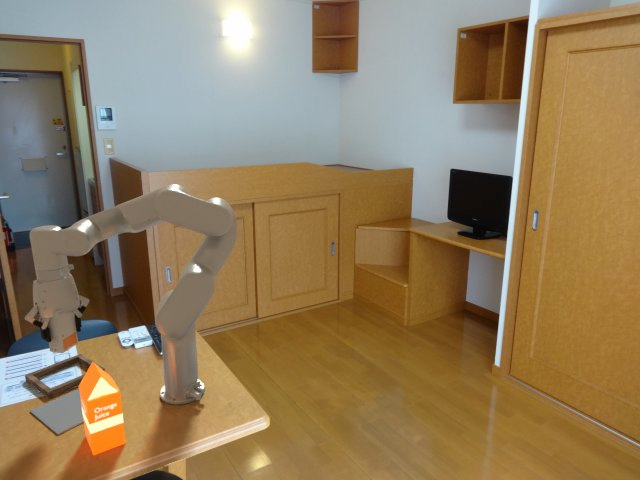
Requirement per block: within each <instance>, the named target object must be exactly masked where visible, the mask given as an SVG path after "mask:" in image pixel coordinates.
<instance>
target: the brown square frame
mask: <svg viewBox="0 0 640 480" xmlns="http://www.w3.org/2000/svg"><path fill="white" fill-rule="evenodd" d="M92 362H94V363H95V364H96V365H97V366H98V367H100V368H101V369H102V370H103V371H105V372H106V368H105V367H103V366H102V365H100V364H98V363H96V362H95V361H93V360H92V359H90V358H88V357H86V356H85V355H83V354H82V353H80V354H79V353H78V354H76V355H74V356H70V357H68V358H66V359H63V360H61V361H59V362H55V363H53V364H50V365H48V366H45V367H43V368H40V369H37V370H35V371H33V372H30V373H27V374H25V375H24V377H25V382H27V383H28V384H29V385H30V386H32V387H33V388H34V389H36V390H37V391H38V392H39V391H40V393H41V394H42V395H44V396H45V397H46V398H47V399H52V398H53V397H56V396H58V395H60V394H62V393H65V392H68V391H70V390H72V389H74V388H76V387H78V386H79V384H80V383H81V381H82V379H83V378H84V376H85V374H86V373H83V374H82V375H79V376H76V377H75V378H72V379H70V380H67V381H64V382H62V383H60V384H57V385H55V386H53V387H50V386H49V385H47V384H46V383H44V382H43V381H42V380H40V379H41V378H44V377H46V376H49V375H51V374H53V373H55V372H58V371H61V370H64V369H66V368H68V367H69V368H70V367H71V366H73V365H76V364H81V365H82V366H84V367H85V368H87V369H89V367H90V365H91V364H92Z"/></svg>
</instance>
